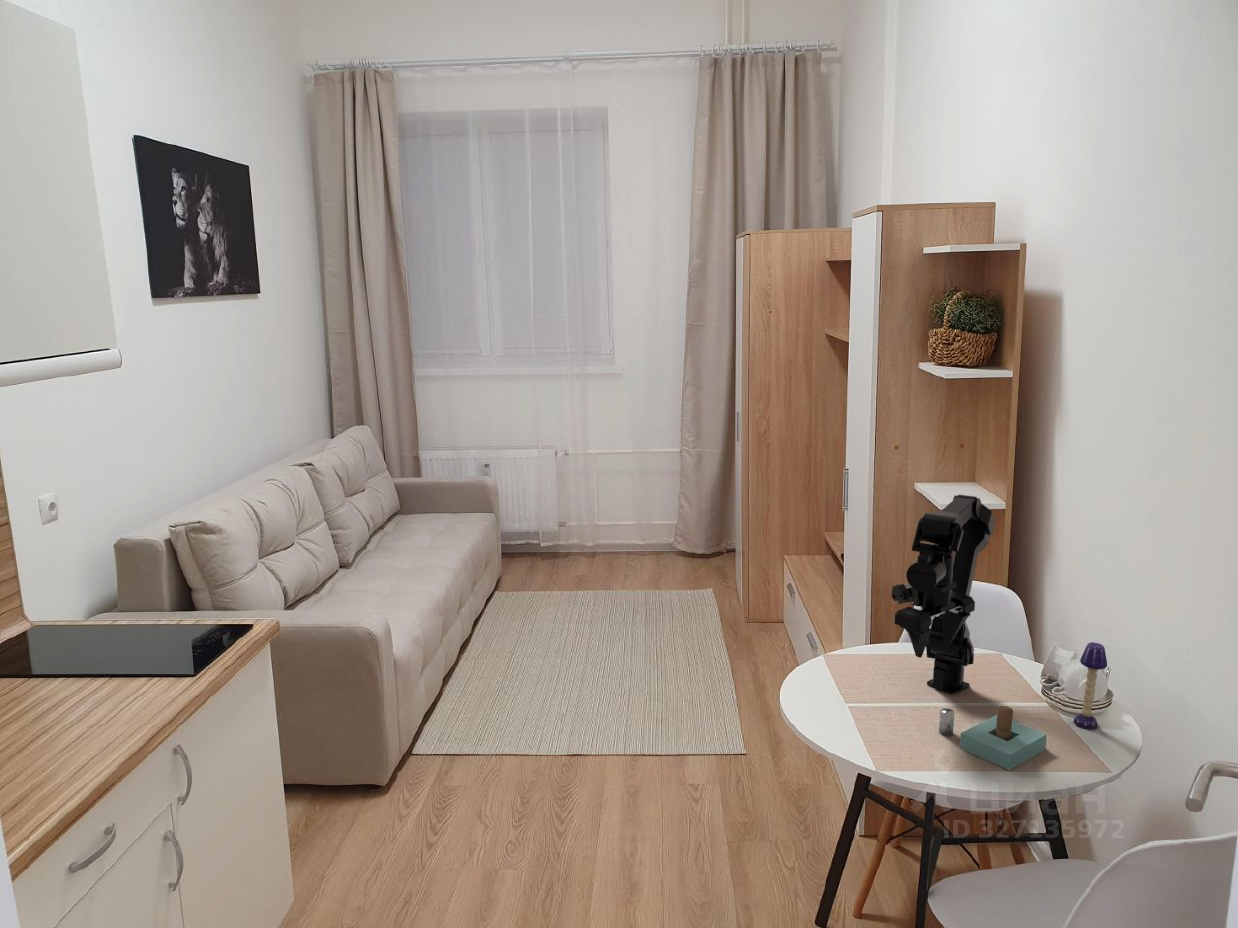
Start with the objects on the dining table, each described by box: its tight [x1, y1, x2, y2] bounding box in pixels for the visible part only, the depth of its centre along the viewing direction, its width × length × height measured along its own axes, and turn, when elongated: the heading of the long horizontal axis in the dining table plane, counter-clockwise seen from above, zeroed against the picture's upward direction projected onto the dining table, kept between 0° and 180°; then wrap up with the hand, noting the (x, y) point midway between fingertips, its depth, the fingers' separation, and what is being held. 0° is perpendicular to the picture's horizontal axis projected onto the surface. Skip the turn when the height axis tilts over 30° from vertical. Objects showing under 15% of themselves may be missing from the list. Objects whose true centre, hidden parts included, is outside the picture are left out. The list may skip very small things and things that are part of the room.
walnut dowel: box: [996, 705, 1014, 741], centre depth 173 cm, size 3×3×8 cm
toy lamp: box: [1073, 641, 1108, 730], centre depth 181 cm, size 5×5×17 cm
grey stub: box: [938, 707, 955, 737], centre depth 180 cm, size 3×3×4 cm
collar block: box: [959, 714, 1048, 771], centre depth 174 cm, size 12×10×3 cm
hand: (932, 650), depth 188 cm, fingers open, 9 cm apart
